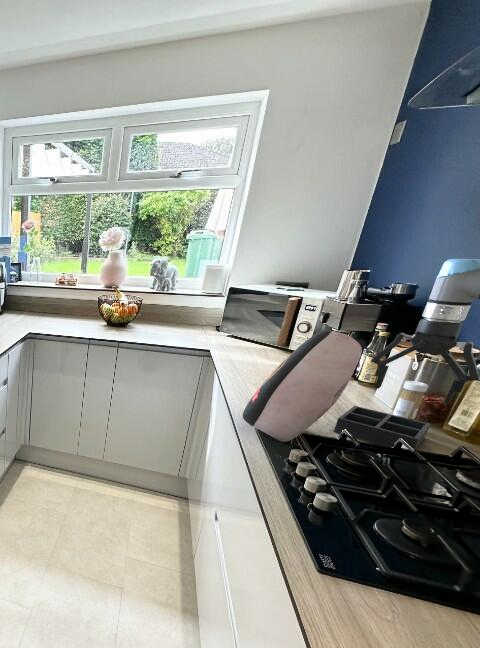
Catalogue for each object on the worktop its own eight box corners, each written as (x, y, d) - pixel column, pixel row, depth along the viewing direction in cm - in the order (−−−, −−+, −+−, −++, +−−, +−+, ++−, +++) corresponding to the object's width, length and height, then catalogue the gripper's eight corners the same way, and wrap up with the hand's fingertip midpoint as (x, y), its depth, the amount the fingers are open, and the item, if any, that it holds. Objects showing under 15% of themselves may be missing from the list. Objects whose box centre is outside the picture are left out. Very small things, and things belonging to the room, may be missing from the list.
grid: (424, 439, 108) (430, 423, 107) (411, 455, 100) (418, 439, 98) (349, 419, 120) (354, 405, 118) (333, 432, 112) (338, 418, 110)
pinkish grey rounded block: (253, 413, 125) (278, 318, 115) (335, 433, 111) (372, 328, 101) (231, 434, 111) (257, 329, 101) (322, 461, 97) (363, 342, 87)
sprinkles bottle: (415, 429, 113) (434, 385, 109) (398, 429, 114) (416, 385, 109) (400, 423, 118) (417, 380, 113) (384, 422, 118) (400, 380, 113)
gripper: (373, 314, 112) (348, 384, 120) (518, 330, 93) (477, 412, 101) (380, 311, 116) (356, 379, 124) (520, 326, 97) (481, 405, 105)
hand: (410, 394), depth 112 cm, fingers open, 13 cm apart
